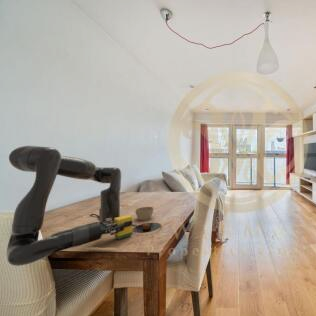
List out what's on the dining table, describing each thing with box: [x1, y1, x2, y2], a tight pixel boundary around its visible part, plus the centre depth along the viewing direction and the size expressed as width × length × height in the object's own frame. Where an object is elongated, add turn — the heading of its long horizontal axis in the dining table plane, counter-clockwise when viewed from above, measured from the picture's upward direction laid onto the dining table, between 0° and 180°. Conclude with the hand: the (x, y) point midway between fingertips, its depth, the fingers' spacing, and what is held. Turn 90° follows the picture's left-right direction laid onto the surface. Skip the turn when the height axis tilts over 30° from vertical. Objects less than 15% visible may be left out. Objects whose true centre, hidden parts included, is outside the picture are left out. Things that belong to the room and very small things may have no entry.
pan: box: [132, 222, 162, 234], centre depth 99 cm, size 21×14×2 cm
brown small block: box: [142, 222, 151, 229], centre depth 97 cm, size 3×3×2 cm
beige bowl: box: [135, 206, 154, 221], centre depth 112 cm, size 10×10×7 cm
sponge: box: [114, 214, 133, 240], centre depth 86 cm, size 4×6×9 cm
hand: (129, 221), depth 88 cm, fingers closed on sponge, 4 cm apart
